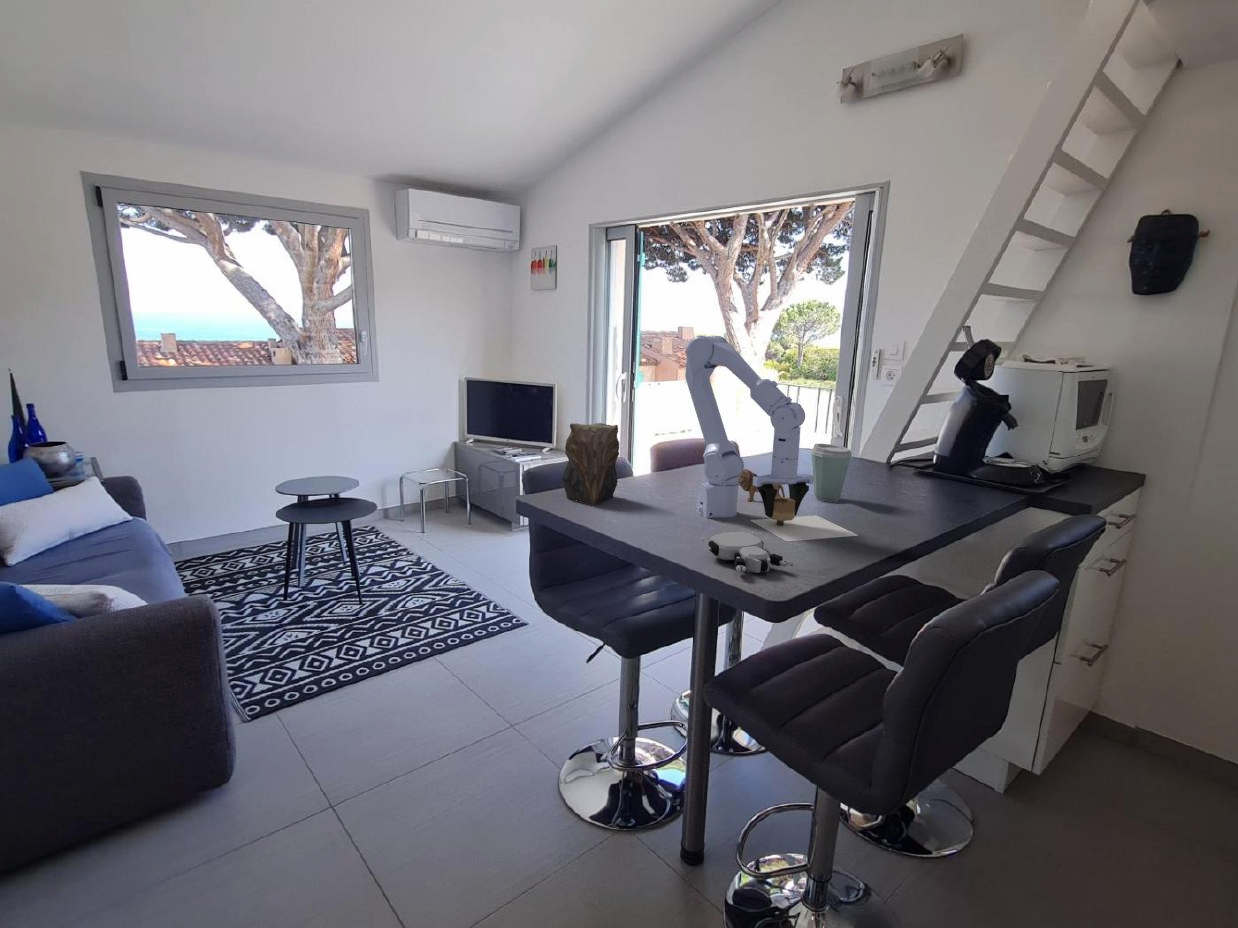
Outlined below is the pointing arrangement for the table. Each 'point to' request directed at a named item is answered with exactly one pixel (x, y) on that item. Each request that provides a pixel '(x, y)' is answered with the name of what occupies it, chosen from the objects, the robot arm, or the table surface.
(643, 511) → the table surface
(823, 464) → the disposable coffee cup
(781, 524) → the rod
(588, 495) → the owl
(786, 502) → the oak bead
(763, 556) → the robot toy
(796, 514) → the robot arm
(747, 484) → the lion figurine
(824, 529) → the white flat rectangular panel
